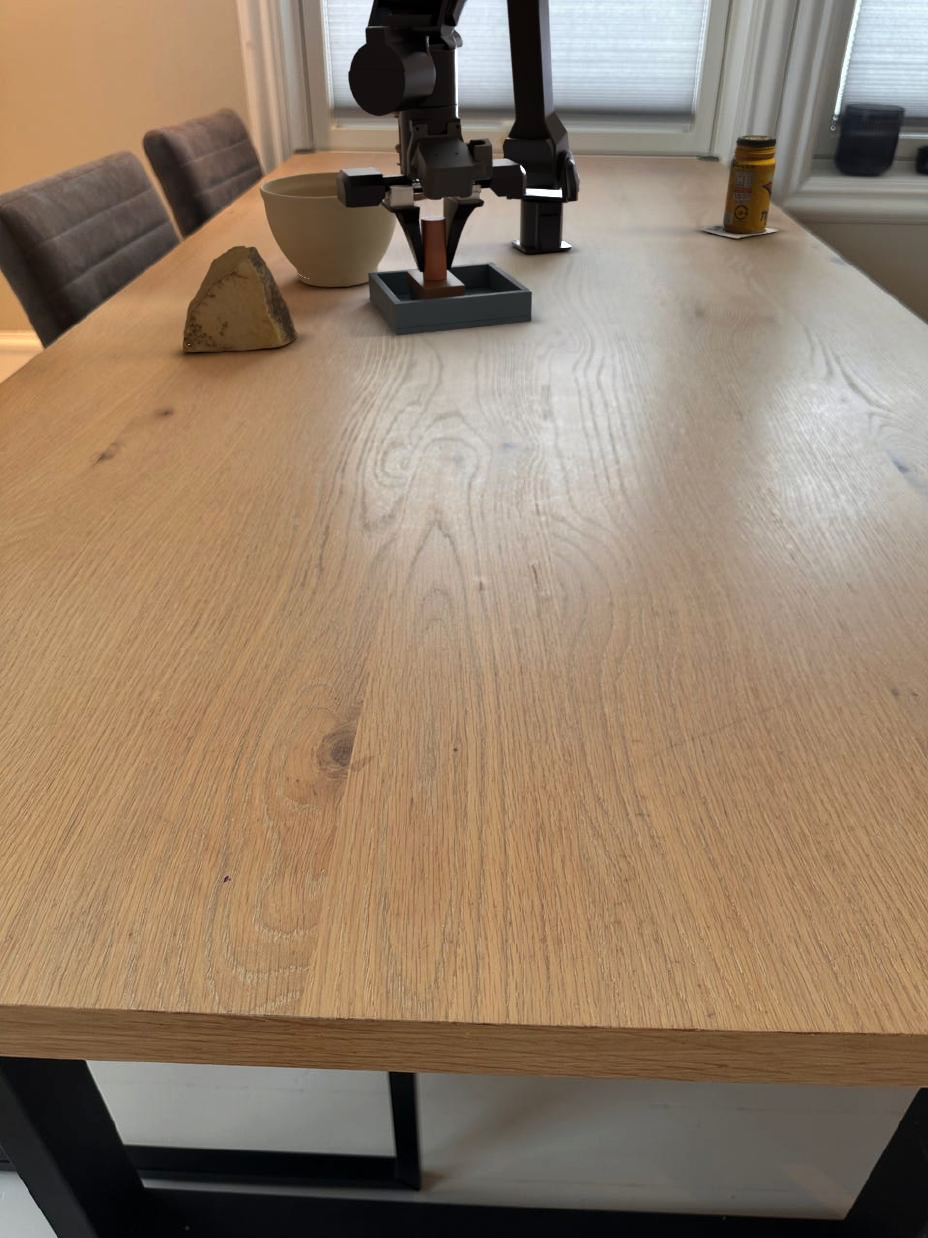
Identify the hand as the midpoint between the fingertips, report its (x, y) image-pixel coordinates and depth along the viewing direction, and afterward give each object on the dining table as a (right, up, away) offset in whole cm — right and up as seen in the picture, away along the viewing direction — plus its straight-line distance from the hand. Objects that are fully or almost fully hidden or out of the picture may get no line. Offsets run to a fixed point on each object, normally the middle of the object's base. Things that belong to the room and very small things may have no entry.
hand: (434, 270), depth 101 cm
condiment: (+42, +18, +34) cm, 57 cm away
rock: (-19, -10, -7) cm, 23 cm away
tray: (+1, -3, +3) cm, 4 cm away
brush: (0, -3, +2) cm, 4 cm away
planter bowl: (-12, +4, +15) cm, 20 cm away
